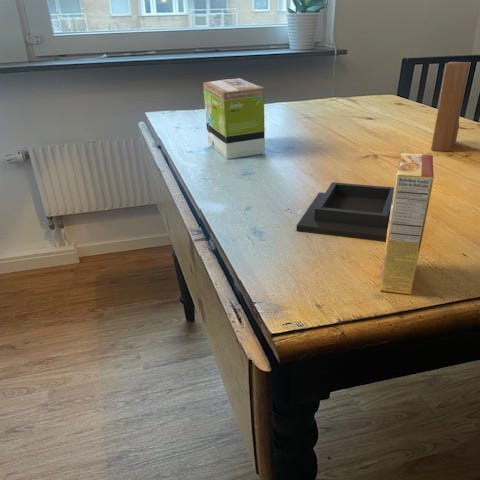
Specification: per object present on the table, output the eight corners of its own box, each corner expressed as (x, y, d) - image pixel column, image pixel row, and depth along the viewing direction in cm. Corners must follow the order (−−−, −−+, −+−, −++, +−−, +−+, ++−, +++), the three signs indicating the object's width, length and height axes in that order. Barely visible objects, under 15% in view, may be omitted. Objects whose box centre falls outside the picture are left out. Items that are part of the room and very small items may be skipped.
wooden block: (436, 140, 123) (451, 58, 113) (455, 142, 121) (472, 59, 111) (430, 150, 116) (445, 64, 106) (450, 152, 114) (468, 64, 104)
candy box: (383, 261, 71) (398, 152, 63) (414, 264, 70) (434, 153, 62) (379, 292, 64) (395, 173, 56) (413, 296, 63) (435, 176, 55)
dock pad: (407, 205, 89) (410, 188, 87) (398, 243, 76) (401, 224, 75) (319, 196, 94) (319, 181, 92) (296, 231, 81) (296, 213, 79)
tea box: (206, 144, 127) (201, 80, 119) (243, 139, 130) (241, 77, 122) (226, 160, 115) (222, 90, 107) (266, 154, 118) (265, 86, 110)
